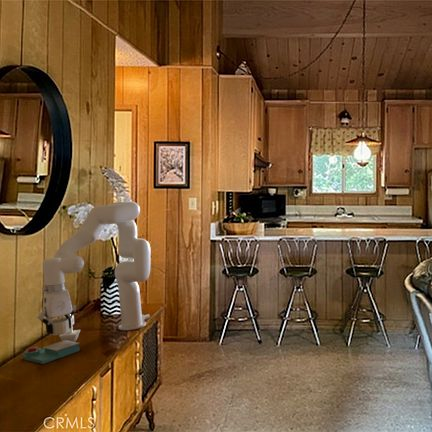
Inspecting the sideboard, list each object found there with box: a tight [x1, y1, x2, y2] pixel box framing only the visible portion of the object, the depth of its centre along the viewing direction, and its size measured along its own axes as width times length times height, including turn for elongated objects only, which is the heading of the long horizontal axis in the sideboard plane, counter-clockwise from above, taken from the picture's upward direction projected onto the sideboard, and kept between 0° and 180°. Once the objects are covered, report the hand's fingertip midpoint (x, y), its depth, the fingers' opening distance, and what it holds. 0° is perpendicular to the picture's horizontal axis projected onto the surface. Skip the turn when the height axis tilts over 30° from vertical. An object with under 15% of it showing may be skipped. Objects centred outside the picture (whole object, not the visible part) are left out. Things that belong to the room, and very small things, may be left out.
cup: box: [49, 317, 69, 336], centre depth 201 cm, size 7×7×5 cm
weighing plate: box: [42, 340, 80, 359], centre depth 201 cm, size 10×10×4 cm
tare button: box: [27, 345, 38, 352], centre depth 198 cm, size 3×3×2 cm
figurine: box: [58, 315, 81, 342], centre depth 218 cm, size 7×9×15 cm
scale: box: [22, 347, 59, 365], centre depth 200 cm, size 16×14×3 cm
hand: (59, 330), depth 201 cm, fingers closed on cup, 7 cm apart
